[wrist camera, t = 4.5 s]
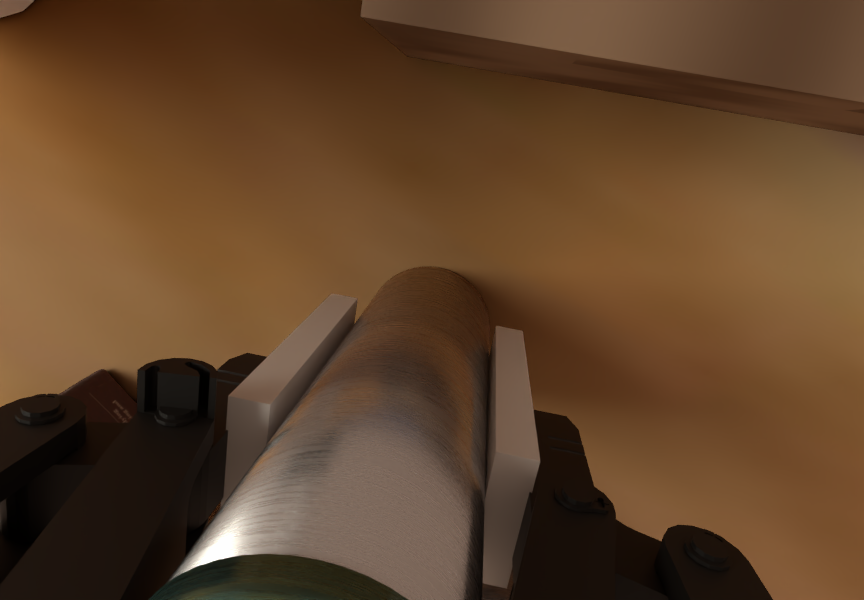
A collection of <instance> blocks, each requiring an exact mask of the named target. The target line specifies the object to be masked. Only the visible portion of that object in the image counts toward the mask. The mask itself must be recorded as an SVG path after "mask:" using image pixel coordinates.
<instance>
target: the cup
mask: <svg viewBox="0 0 864 600" xmlns="http://www.w3.org/2000/svg"><path fill="white" fill-rule="evenodd" d="M33 1H34V0H0V18H1V17H5V16H8V15H12V14H15V13H18V12H22V11H24V10H25V9H26V8H27V7H28V6H29V5H30V4H31V3H32V2H33Z"/></svg>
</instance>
